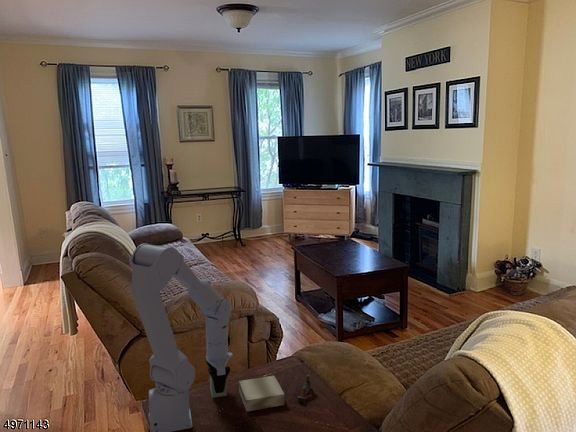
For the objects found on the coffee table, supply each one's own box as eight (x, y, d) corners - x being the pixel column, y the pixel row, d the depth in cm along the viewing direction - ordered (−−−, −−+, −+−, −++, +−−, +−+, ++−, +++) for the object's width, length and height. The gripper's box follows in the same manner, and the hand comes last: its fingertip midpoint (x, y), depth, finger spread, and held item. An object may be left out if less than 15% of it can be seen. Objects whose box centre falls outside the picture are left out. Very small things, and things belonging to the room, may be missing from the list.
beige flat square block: (246, 411, 107) (246, 400, 107) (239, 391, 117) (238, 381, 116) (284, 404, 110) (284, 393, 110) (274, 385, 120) (274, 375, 119)
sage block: (212, 397, 114) (211, 376, 113) (210, 390, 118) (209, 369, 117) (226, 395, 115) (226, 374, 114) (224, 387, 119) (224, 367, 118)
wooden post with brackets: (313, 383, 119) (312, 373, 117) (305, 409, 113) (303, 398, 110) (307, 382, 120) (305, 371, 117) (299, 407, 113) (297, 396, 111)
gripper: (236, 349, 109) (237, 399, 110) (227, 328, 122) (228, 373, 124) (208, 353, 107) (210, 404, 108) (202, 331, 120) (204, 376, 122)
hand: (218, 387), depth 116 cm, fingers closed on sage block, 4 cm apart
